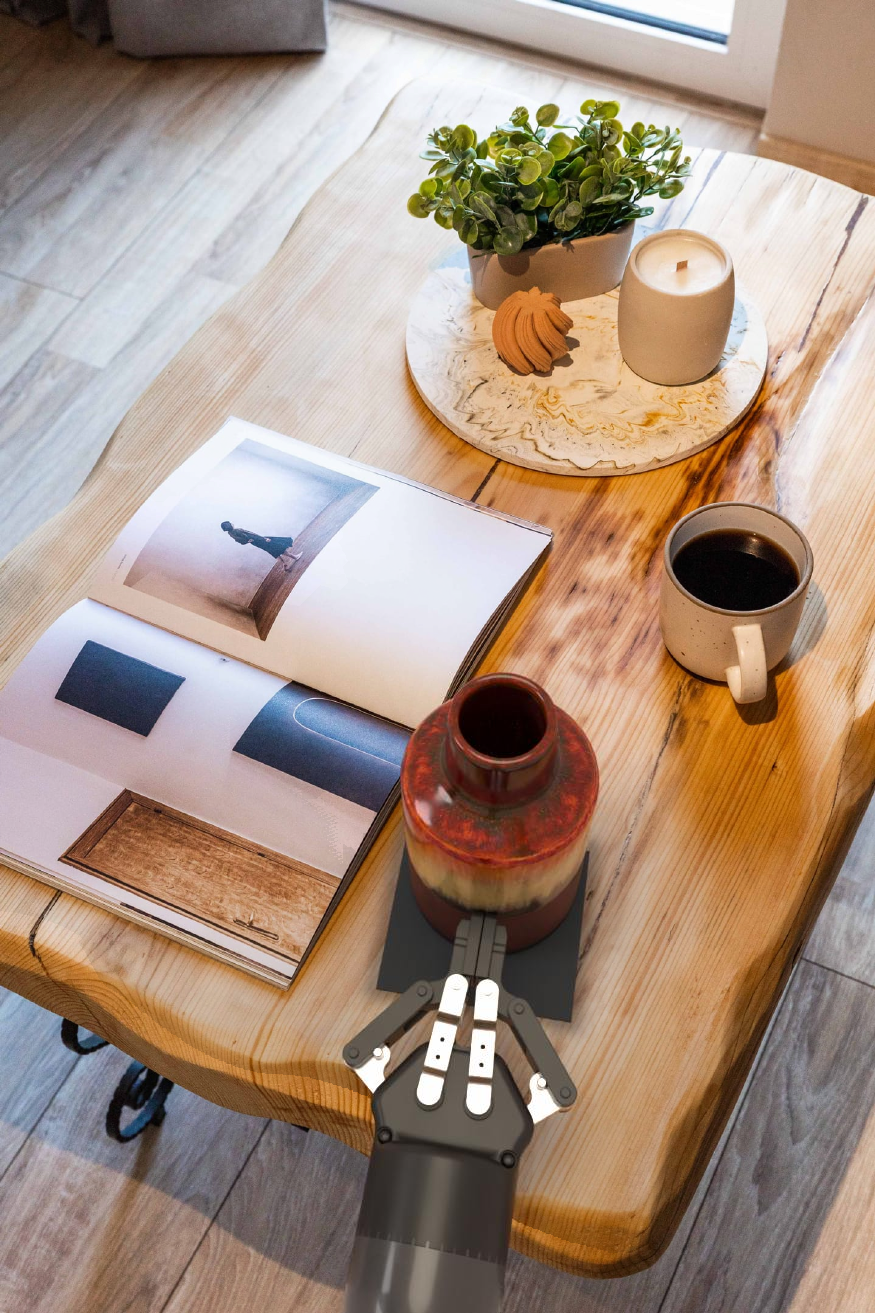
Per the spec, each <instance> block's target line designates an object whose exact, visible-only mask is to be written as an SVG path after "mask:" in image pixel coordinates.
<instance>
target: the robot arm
mask: <svg viewBox="0 0 875 1313" xmlns="http://www.w3.org/2000/svg"><path fill="white" fill-rule="evenodd" d="M497 923H498V914H493V913H487V912H486V914H485V912H480V911H474V910H473V911H472V916H471V920H465V919H462V920H461V922H460V923H459V925H458V927H457V931H456V937H455V943H454V948H453V954H452V960H451V966H450V970H449V973H448V974H447V976H446V977H444V978H443V979H441V980H437V981H431V982H428V981H425V980H419V981H417V982H415V983H414V984H413V985H412V986H411V987H410V988H409V989H407V990H406V991H405V992H404V993H401V994H400V996H399V997H397V998H396V999H395V1000H394V1001H393V1002H392V1003H391V1004H389V1005H388V1006H386V1008H385V1009H384V1010H383V1011H382V1012H381V1013H379V1015H378V1016H376V1017H375V1018H374V1019H373V1020H371V1022H370V1023H368V1024H367V1025H366V1026H365V1027H364V1028H363V1029H361V1031H359V1032H358V1033H357V1034H356V1035H355V1036H354V1037H352V1039H351V1040H349V1041H348V1043H346V1044H345V1045H344V1047H343V1048H342V1059H343V1062H344V1064H345V1066H346V1068H347V1069H348V1070H349V1072H351V1073H352V1074H356V1075H357V1076H358V1078H359V1079H360V1080H361V1081H362V1083H363V1084H364V1085H365V1087H366V1088H367V1089H368V1090H369V1091H370V1093H371V1094H372V1096H371V1099H370V1109H371V1114H372V1116H373V1121H374V1122H373V1123H374V1135H373V1141H372V1147H371V1151H370V1156H369V1157H370V1158H369V1162H368V1166H367V1167H368V1168H367V1172H366V1176H365V1177H366V1178H365V1182H364V1186H363V1193H362V1198H361V1203H360V1208H359V1213H358V1218H357V1224H356V1229H355V1235H354V1239H353V1240H354V1241H353V1245H352V1250H351V1254H350V1258H349V1265H348V1269H347V1274H346V1280H345V1285H344V1291H343V1297H342V1309H341V1313H501V1310H502V1309H501V1308H502V1300H503V1298H504V1294H505V1286H506V1285H505V1277H506V1270H507V1264H508V1256H509V1248H510V1240H511V1233H512V1224H513V1218H514V1217H513V1216H514V1209H515V1202H516V1195H517V1189H518V1188H517V1187H518V1179H519V1173H520V1172H519V1171H520V1165H521V1159H522V1156H523V1154H524V1152H525V1151H526V1149H527V1147H528V1146H529V1145H530V1144H531V1142H532V1139H533V1137H534V1133H535V1127H536V1125H538V1124H540V1123H542V1122H543V1121H545V1120H547V1119H549V1118H550V1117H552V1116H554V1115H556V1114H558V1113H562V1114H565V1113H569V1112H570V1111H571V1110H572V1109H573V1107H574V1104H575V1102H576V1101H577V1098H578V1089H577V1087H576V1085H575V1083H574V1082H573V1080H572V1077H571V1076H570V1074H569V1073H568V1071H567V1069H566V1067H565V1066H564V1064H563V1062H562V1060H561V1058H560V1057H559V1055H558V1053H557V1051H556V1049H555V1048H554V1046H553V1043H551V1040H550V1039H549V1037H548V1035H547V1034H546V1031H545V1030H544V1028H543V1026H542V1024H541V1022H540V1021H539V1019H538V1016H536V1015H535V1014H534V1012H533V1010H532V1008H531V1007H530V1005H529V1003H528V1002H527V1001H526V1000H525V999H523V998H517V997H516V996H514V995H512V994H510V993H509V992H507V991H506V990H505V989H504V987H503V986H502V983H501V979H502V972H503V966H504V959H505V952H506V946H507V936H508V935H507V931H506V927H505V926H501V925H497ZM474 984H475V986H477V989H476V1001H475V1006H474V1012H473V1013H474V1014H473V1023H472V1024H473V1025H472V1032H471V1033H472V1035H471V1045H470V1046H461V1045H459V1040H460V1035H461V1029H462V1024H463V1020H464V1016H465V1012H466V1008H467V1000H468V998H469V993H470V987H471V986H474ZM437 1010H438V1011H437ZM431 1011H437V1014H436V1017H435V1020H434V1024H433V1028H432V1032H431V1036H430V1040H428V1041H425V1042H423V1043H421V1044H420V1045H418V1046H416V1047H415V1049H413V1050H412V1051H411V1053H409V1055H408V1056H407V1057H406V1058H405V1059H404V1060H402V1062H400V1064H399V1065H397V1067H396V1068H395V1069H394V1070H393V1071H392V1072H390V1073H389V1075H388V1076H387V1077H386V1078H385V1074H386V1070H387V1068H388V1067H389V1066H390V1065H391V1062H392V1054H391V1050H390V1049H391V1048H392V1047H393V1046H394V1045H395V1044H396V1043H398V1041H400V1040H401V1039H402V1038H403V1037H404V1036H405V1035H406V1034H407V1033H408V1032H410V1030H412V1029H413V1027H416V1025H417V1024H418V1023H420V1021H421V1020H422V1019H424V1018H425V1017H426V1016H427V1015H428V1014H429V1013H430V1012H431ZM498 1020H499V1021H501V1022H503V1023H505V1024H506V1025H508V1028H509V1030H510V1031H511V1033H512V1035H513V1036H514V1038H515V1040H516V1042H517V1044H518V1046H519V1048H520V1050H521V1051H522V1053H523V1054H524V1056H525V1059H526V1060H527V1062H528V1064H529V1066H530V1068H531V1069H532V1071H533V1074H534V1075H533V1076H532V1077H531V1078H530V1081H529V1084H528V1085H529V1086H528V1091H529V1094H530V1102H529V1103H528V1104H527V1102H526V1100H525V1098H524V1097H523V1094H522V1092H521V1090H520V1088H519V1086H518V1084H517V1082H516V1080H515V1078H514V1076H513V1074H512V1072H511V1070H510V1068H509V1065H508V1064H507V1062H506V1060H505V1059H504V1058H503V1057H502V1056H501V1055H500V1054H499V1053H497V1052H495V1048H496V1033H497V1021H498Z"/></svg>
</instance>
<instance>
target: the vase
mask: <svg viewBox="0 0 875 1313" xmlns="http://www.w3.org/2000/svg"><path fill="white" fill-rule="evenodd" d="M599 768H600V767H599V764H598V759H597V755H596V753H595V751H594V747H593V745H592V742H591V741H590V739H589V737H588V736H587V734H586V732H585V731H584V730H583V729H582V727H581V726H580V725H579V724H578V722H577V721H576V720H575V719H574V718H573V717H572V716H570V715H569V714H568V712H566V711H565V710H564V709H563V708H561V707H559V706H558V705H556V704H555V703H554V701H553V699H552V698H551V696H550V695H549V694H548V692H547V691H546V690H545V689H544V688H543V687H542V686H541V685H540V684H539V683H537V682H536V681H534V680H532V679H531V678H528V677H527V676H524V675H522V674H518V673H512V672H506V671H505V672H502V671H501V672H500V671H498V672H490V673H486V674H482V675H480V676H477V677H475V678H473V679H471V680H470V681H468V682H467V683H465V684H464V685H463V686H461V688H460V689H459V690H458V691H457V692H456V694H455V695H454V697H452V698H450V699H449V700H447V701H445V702H444V703H442V704H440V705H438V706H437V707H436V708H435V709H434V710H432V711H431V712H430V713H428V714H427V715H426V716H425V718H423V720H422V721H421V722H420V723H419V724H418V725H417V727H416V728H415V730H414V732H413V733H412V734H411V736H410V737H409V739H408V742H407V744H406V747H405V749H404V752H403V756H402V759H401V763H400V774H399V783H400V784H399V786H400V796H401V806H402V815H403V823H404V824H403V825H404V833H405V841H406V844H407V853H408V861H409V870H410V879H411V887H412V891H413V894H414V898H415V901H416V903H417V905H418V907H419V910H420V912H421V913H422V915H423V916H424V917H425V919H426V920H427V922H428V923H429V924H430V925H431V927H432V928H433V929H434V930H435V931H436V932H437V933H438V934H440V935H441V936H442V937H443V938H445V939H446V940H447V941H449V942H451V943H453V944H454V943H455V937H456V931H457V927H458V925H459V923H460V922H461V920H462V919H465V920H471V916H472V911H473V910H474V911H480V912H485V914H486V912H487V913H493V914H498V923H497V925H501V926H505V927H506V931H507V935H508V936H507V946H506V952H505V954H512V953H516V952H520V951H523V950H526V949H528V948H531V947H533V946H535V945H537V944H539V943H540V942H542V941H543V940H545V939H546V938H548V937H549V936H550V935H551V934H552V933H553V932H554V931H555V930H556V929H557V928H558V927H559V926H560V925H561V923H562V922H563V921H564V919H565V918H566V917H567V915H568V913H569V911H570V909H571V907H572V905H573V902H574V899H575V896H576V893H577V889H578V885H579V880H580V876H581V872H582V867H583V863H584V859H585V854H586V851H588V850H587V849H588V845H589V842H590V836H591V832H592V828H593V823H594V818H595V815H596V810H597V805H598V801H599V800H598V798H599V793H600V792H599V790H600V769H599Z"/></svg>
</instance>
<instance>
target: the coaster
mask: <svg viewBox="0 0 875 1313" xmlns="http://www.w3.org/2000/svg"><path fill="white" fill-rule="evenodd" d="M590 853H591V851H590V850H586V854H585V859H584V863H583V867H582V872H581V876H580V880H579V885H578V889H577V893H576V896H575V899H574V902H573V905H572V907H571V909H570V911H569V913H568V915H567V917H566V918H565V919H564V921H563V922H562V923H561V925H560V926H559V927H558V928H557V929H556V930H555V931H554V932H553V933H552V934H551V935H550V936H549V937H548V938H546V939H545V940H543V941H542V942H540V943H539V944H537V945H535V946H533V947H531V948H528V949H526V950H523V951H520V952H516V953H512V954H505V959H504V966H503V972H502V979H501V983H502V986H503V987H504V989H505V990H506V991H507V992H509V993H510V994H512V995H514V996H516V997H517V998H523V999H525V1000H526V1001H527V1002H528V1003H529V1005H530V1007H531V1008H532V1010H533V1012H534V1014H535V1015H536V1017H537V1018H538V1017H539V1018H545V1019H550V1020H555V1021H560V1022H561V1021H562V1022H568V1023H572V1017H573V1007H574V999H575V989H576V981H577V972H578V963H579V961H578V960H579V954H580V953H579V952H580V945H581V936H582V926H583V917H584V908H585V898H586V888H587V879H588V872H589V871H588V870H589V864H590V863H589V861H590ZM453 948H454V944H453V943H451V942H449V941H447V940H446V939H445V938H443V937H442V936H441V935H440V934H438V933H437V932H436V931H435V930H434V929H433V928H432V927H431V925H430V924H429V923H428V922H427V920H426V919H425V917H424V916H423V915H422V913H421V912H420V910H419V907H418V905H417V903H416V901H415V898H414V894H413V891H412V887H411V879H410V870H409V861H408V853H407V844H406V840H405V842H404V847H403V851H402V857H401V862H400V866H399V870H398V876H397V881H396V886H395V891H394V896H393V902H392V906H391V912H390V916H389V922H388V926H387V932H386V937H385V942H384V946H383V952H382V955H381V961H380V966H379V971H378V975H377V976H378V977H377V981H376V987H375V990H380V991H387V992H391V993H398V994H403V993H404V992H405V991H406V990H407V989H409V988H410V987H411V986H412V985H413V984H414V983H415V982H417V981H419V980H425V981H428V982H431V981H437V980H441V979H443V978H444V977H446V976H447V974H448V973H449V970H450V966H451V960H452V954H453ZM476 989H477V986H475V984H474V986H471V987H470V993H469V998H468V1000H467V1004H466V1006H473V1007H475V1001H476Z"/></svg>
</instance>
